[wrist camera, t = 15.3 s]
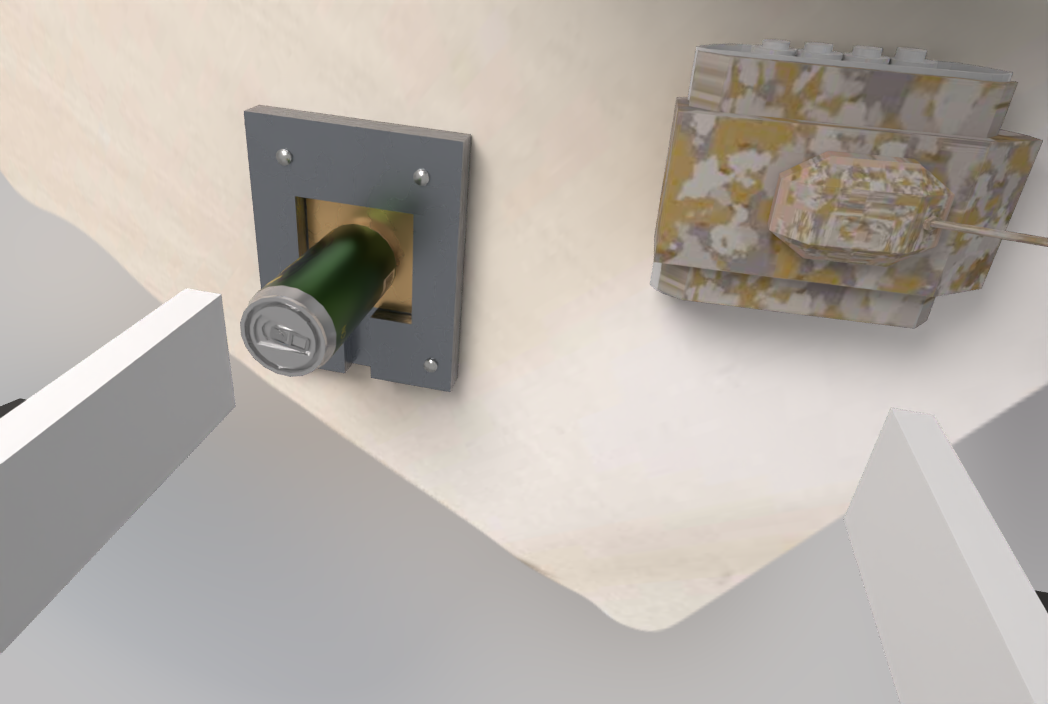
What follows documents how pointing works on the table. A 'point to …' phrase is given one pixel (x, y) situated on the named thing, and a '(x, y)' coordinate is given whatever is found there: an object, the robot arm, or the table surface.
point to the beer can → (318, 300)
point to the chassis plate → (380, 203)
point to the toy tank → (837, 181)
